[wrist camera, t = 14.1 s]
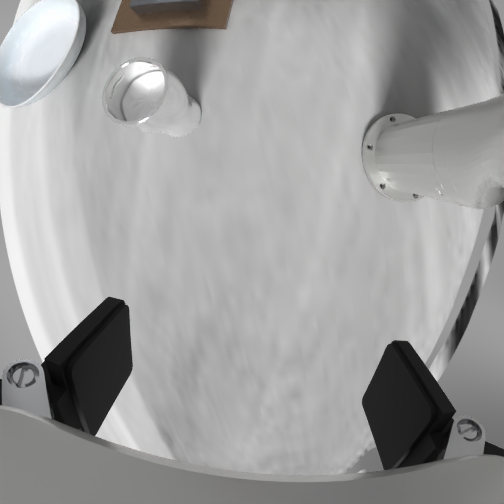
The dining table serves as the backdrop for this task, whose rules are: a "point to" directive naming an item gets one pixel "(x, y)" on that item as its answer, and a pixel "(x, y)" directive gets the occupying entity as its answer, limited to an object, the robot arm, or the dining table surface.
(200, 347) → the dining table surface
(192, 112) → the beer glass
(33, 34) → the serving bowl
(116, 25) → the board with square socket
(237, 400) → the dining table surface
